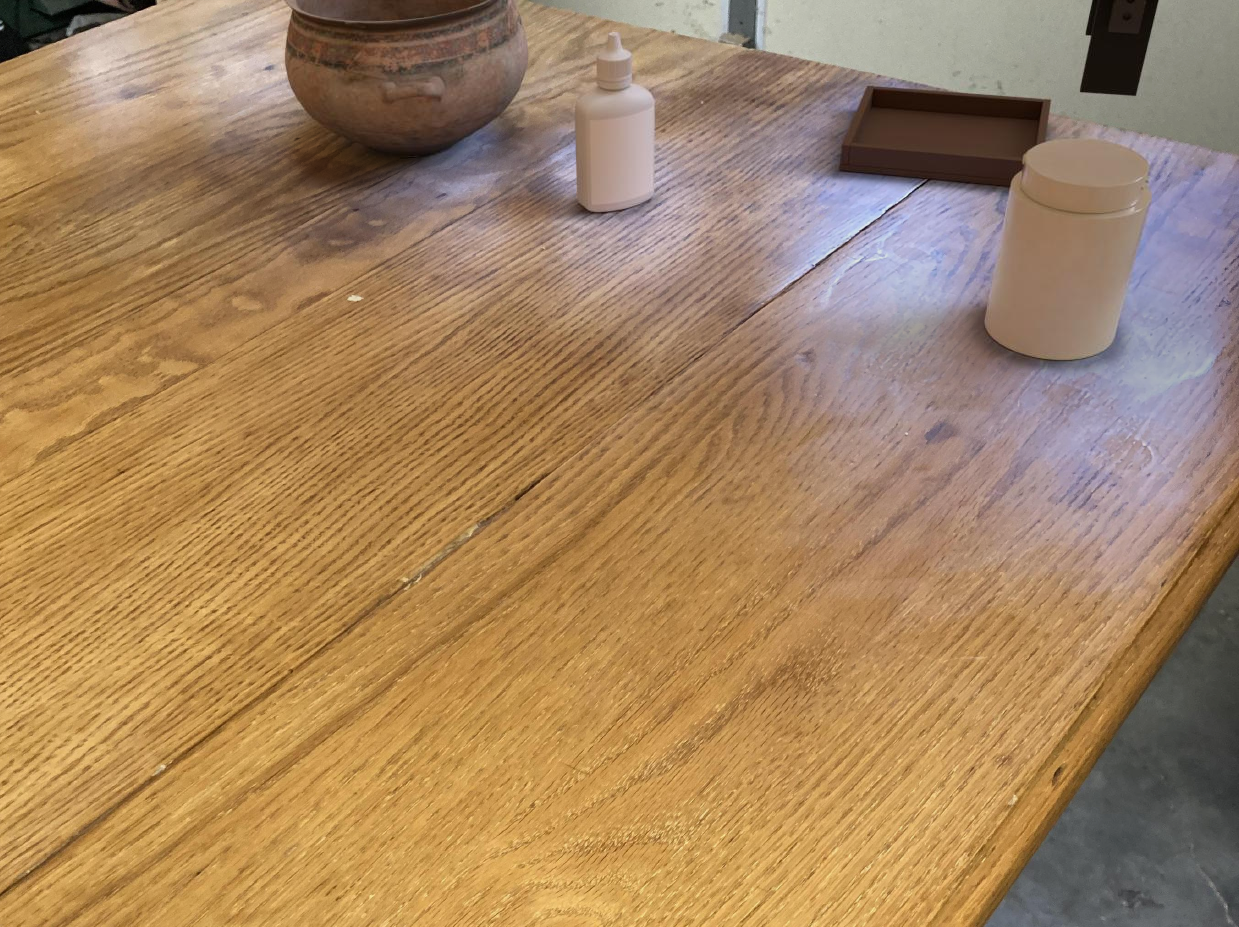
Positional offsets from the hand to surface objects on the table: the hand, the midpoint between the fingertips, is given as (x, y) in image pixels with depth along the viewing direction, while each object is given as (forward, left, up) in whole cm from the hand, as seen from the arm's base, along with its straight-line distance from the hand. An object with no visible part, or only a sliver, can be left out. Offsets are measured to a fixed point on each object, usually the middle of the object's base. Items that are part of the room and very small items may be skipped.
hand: (1109, 61), depth 71 cm
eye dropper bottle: (+31, -11, -16) cm, 37 cm away
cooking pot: (+50, -18, -16) cm, 55 cm away
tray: (+9, -26, -16) cm, 31 cm away
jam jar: (0, 0, -16) cm, 16 cm away
